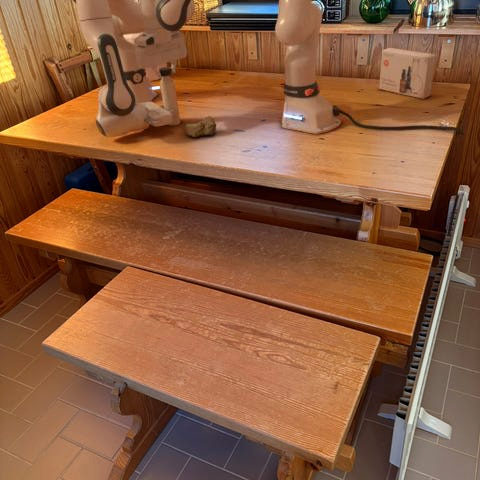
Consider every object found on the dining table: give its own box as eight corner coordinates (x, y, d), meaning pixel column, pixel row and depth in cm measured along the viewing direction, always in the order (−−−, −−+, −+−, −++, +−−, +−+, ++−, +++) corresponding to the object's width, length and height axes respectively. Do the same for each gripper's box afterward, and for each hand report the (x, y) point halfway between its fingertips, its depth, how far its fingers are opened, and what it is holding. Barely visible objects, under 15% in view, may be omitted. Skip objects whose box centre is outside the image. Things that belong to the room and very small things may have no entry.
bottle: (168, 121, 185) (158, 68, 173) (181, 120, 184) (172, 67, 173) (166, 126, 180) (156, 72, 169) (179, 125, 180) (170, 71, 168)
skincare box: (377, 89, 194) (381, 50, 185) (385, 86, 197) (389, 47, 188) (423, 99, 180) (429, 56, 171) (430, 95, 183) (437, 53, 174)
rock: (185, 134, 174) (189, 139, 165) (182, 117, 171) (186, 121, 162) (213, 129, 176) (218, 134, 167) (210, 112, 173) (216, 117, 164)
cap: (159, 77, 170) (158, 70, 168) (160, 74, 173) (159, 67, 172) (171, 75, 170) (169, 69, 169) (171, 72, 173) (170, 66, 172)
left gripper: (149, 116, 165) (183, 106, 170) (129, 103, 179) (161, 94, 185) (152, 133, 168) (186, 123, 174) (132, 118, 183) (164, 110, 188)
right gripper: (177, 29, 171) (183, 67, 179) (129, 40, 161) (138, 80, 168) (187, 30, 167) (192, 69, 175) (139, 42, 157) (147, 83, 164)
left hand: (173, 108), depth 179 cm, fingers closed on bottle, 5 cm apart
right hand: (165, 75), depth 172 cm, fingers open, 5 cm apart
